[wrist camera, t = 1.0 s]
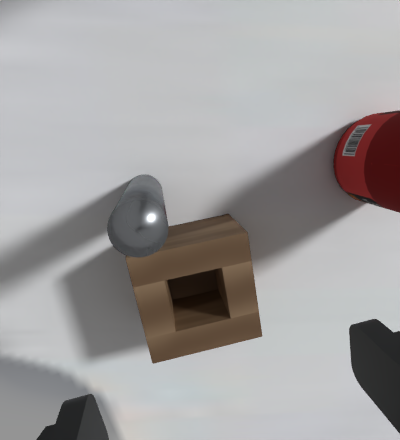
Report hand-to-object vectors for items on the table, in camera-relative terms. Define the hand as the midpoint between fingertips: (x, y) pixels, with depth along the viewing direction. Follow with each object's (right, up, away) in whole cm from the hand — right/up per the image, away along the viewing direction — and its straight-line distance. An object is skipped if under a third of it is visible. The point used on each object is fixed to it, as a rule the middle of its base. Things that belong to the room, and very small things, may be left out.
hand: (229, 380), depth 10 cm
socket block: (-2, 0, +20) cm, 20 cm away
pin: (-6, +7, +18) cm, 20 cm away
